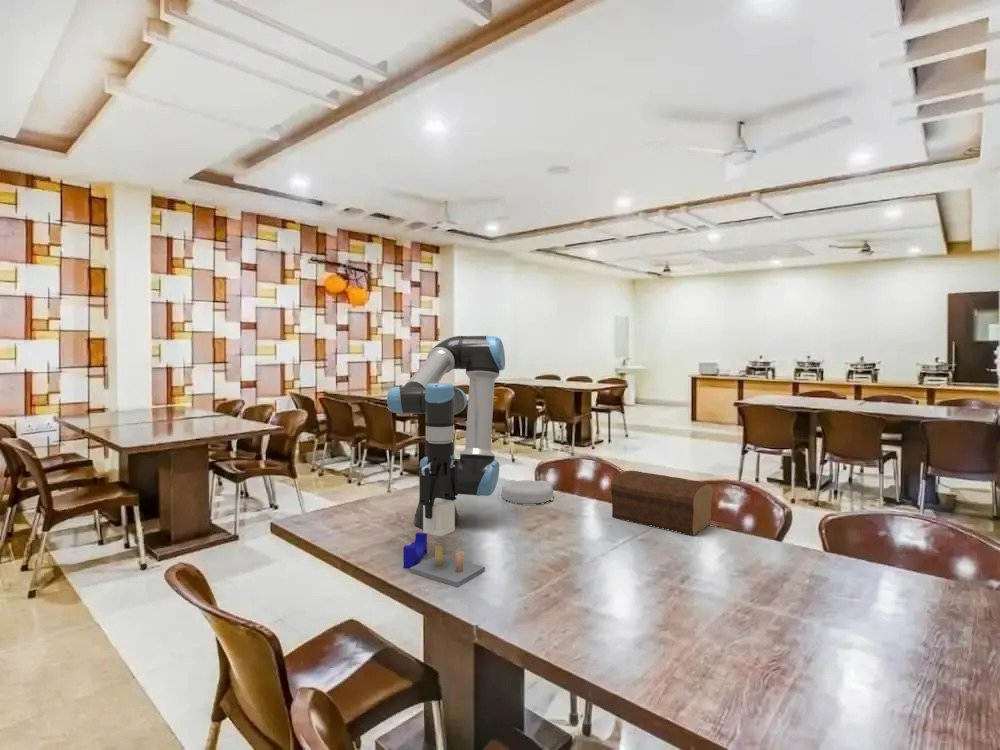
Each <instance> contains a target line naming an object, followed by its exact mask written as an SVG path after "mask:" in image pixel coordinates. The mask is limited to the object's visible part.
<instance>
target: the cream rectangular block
mask: <svg viewBox="0 0 1000 750" xmlns="http://www.w3.org/2000/svg"><path fill="white" fill-rule="evenodd" d="M429 502H430V501H429ZM455 502H456V501H455V500H454V501H451V500H446V499H441V498H436V499H435V500H434V505H433V506H436V531H431V530H427V529H426V518H425V506H424V505H423V528H422V533H427V535H428V534H429V535H432V536H438V537H442V536H445V535H447V534H449V533H452V532H455V530H456V529H455V528H456V527H455V505H456V503H455Z"/></svg>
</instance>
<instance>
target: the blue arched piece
mask: <svg viewBox="0 0 1000 750" xmlns="http://www.w3.org/2000/svg"><path fill="white" fill-rule="evenodd" d="M414 538H415V539H414V541H413V542H411V543H410V544H408V545H407V544H405V545H404V546H403V555H402V556H403V564H402V565H403V566H402V567H403V569H409V570H410V568H411V567H413V566H415V565H417V564H419V563H421V562H422V560H423V559H424V557H425V556H426V555H427V553H428V533H424V532H416V533H415V537H414Z"/></svg>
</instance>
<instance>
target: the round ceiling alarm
mask: <svg viewBox="0 0 1000 750" xmlns="http://www.w3.org/2000/svg"><path fill="white" fill-rule="evenodd" d="M501 494H502V496H501V498H502V499H503V500H504V501H506V500H508V501H507V502H509V501H510V503H512V502H514V503H515V504H517V503H522V504H523V505H534V504H533V503H541V504H543V503H542V502H546V501H548V502H550V501H552V500H553V499H554V497H553V495H554V488H553V486H552V484H551V483H550V482H548V481H545V480H527V479H526V480H525V479H523V480H515V479H511V480H509V481H506V482H505V483H504V484H503V485H502V487H501ZM549 500H550V501H549ZM546 503H547V502H546Z"/></svg>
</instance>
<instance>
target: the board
mask: <svg viewBox="0 0 1000 750" xmlns="http://www.w3.org/2000/svg"><path fill="white" fill-rule="evenodd" d="M443 549H444V548H443V545H441V544H440V545H439V544H438V545H435V546H434V551H435V553H434V556H432V557H429V558H428V559H425V560H424V561H420V562H419V563H418V564H417V565H415V566H413V567H411V568H410V569H409V572H410V573H411V574H414V575H418V576H420V577H424V578H427V579H430V580H434V581H437V582H440V583H443V584H447V585H450V586H454V587H456V588H458V587H460V586H462V585H463V584H465V583H467V582H469V581H470V580H472V579H474V578H475V577H477V576H479V575H481V574H483V573H484V572H485V571H486V567H485V565H484V566H483V565H480V564H477V563H472V562H469V561H466V560H464V551H462V550H456V551H455V557H450V556H448V555H443V551H444V550H443Z"/></svg>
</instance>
